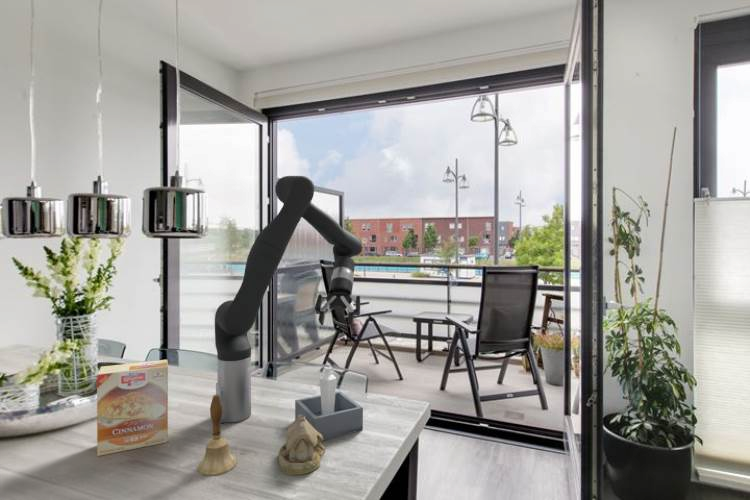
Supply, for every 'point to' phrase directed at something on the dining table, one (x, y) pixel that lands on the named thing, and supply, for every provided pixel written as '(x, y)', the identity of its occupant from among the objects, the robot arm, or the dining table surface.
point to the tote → (331, 415)
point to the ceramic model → (301, 448)
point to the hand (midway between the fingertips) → (335, 324)
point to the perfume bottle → (327, 391)
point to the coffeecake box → (132, 406)
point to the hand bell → (216, 446)
